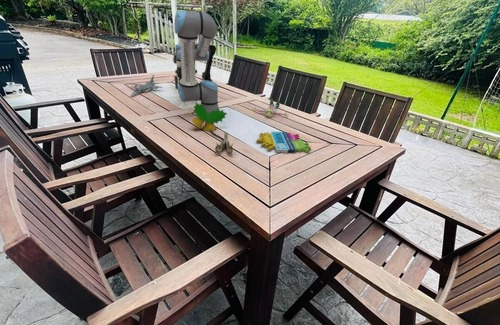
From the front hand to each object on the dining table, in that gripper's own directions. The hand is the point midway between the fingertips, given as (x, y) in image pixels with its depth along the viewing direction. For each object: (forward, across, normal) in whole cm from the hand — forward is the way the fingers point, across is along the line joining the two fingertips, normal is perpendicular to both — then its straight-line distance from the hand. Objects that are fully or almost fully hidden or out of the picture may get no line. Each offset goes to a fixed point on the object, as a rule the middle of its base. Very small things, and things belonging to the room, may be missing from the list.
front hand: (183, 97), depth 209 cm
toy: (+4, -42, +58) cm, 72 cm away
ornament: (+4, +16, +58) cm, 61 cm away
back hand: (-5, -20, -27) cm, 34 cm away
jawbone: (+4, +28, +89) cm, 93 cm away
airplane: (+4, +12, -44) cm, 46 cm away
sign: (+4, -6, +100) cm, 100 cm away
